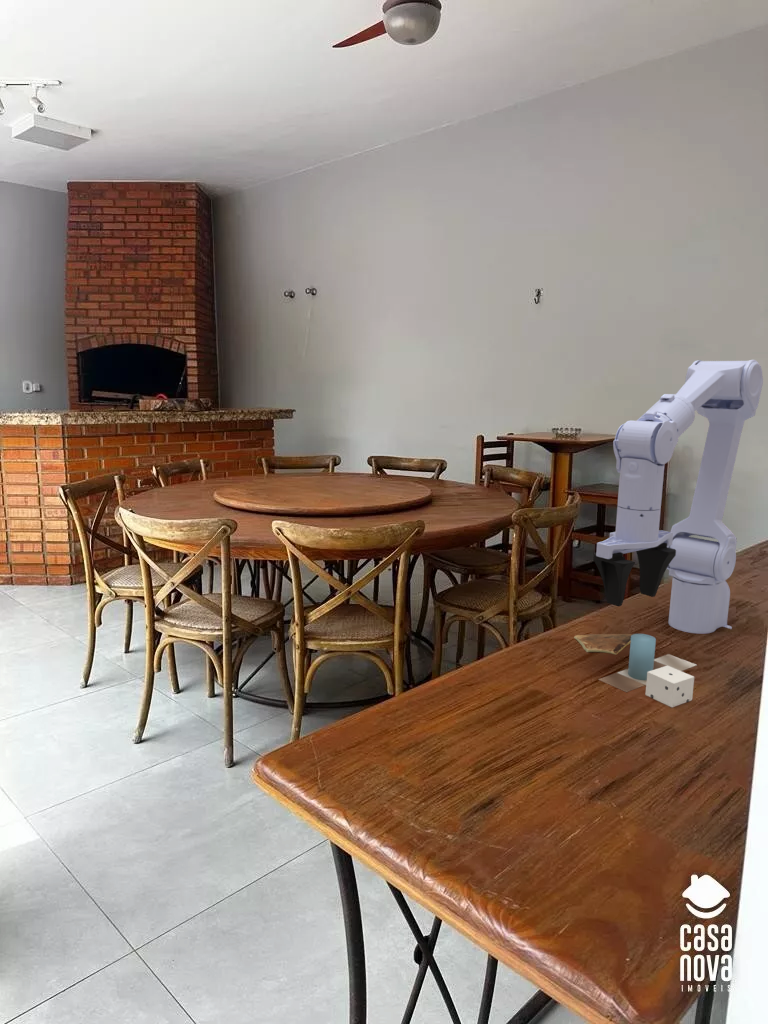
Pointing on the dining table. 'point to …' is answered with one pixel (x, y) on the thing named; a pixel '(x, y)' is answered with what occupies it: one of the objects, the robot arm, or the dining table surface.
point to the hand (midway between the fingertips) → (631, 599)
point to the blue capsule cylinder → (641, 656)
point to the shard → (604, 642)
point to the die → (669, 686)
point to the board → (629, 683)
